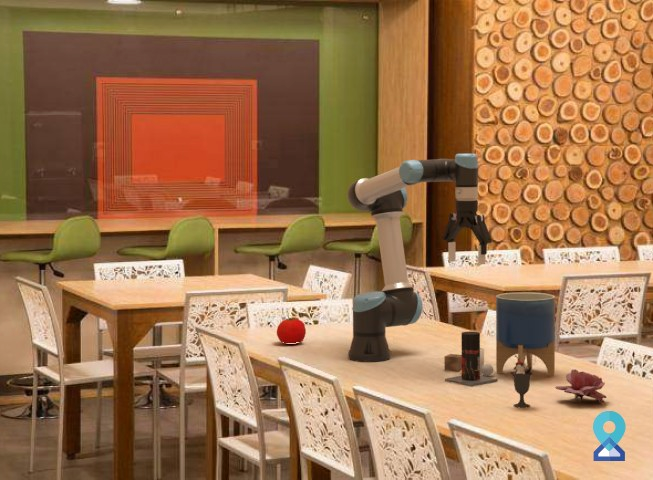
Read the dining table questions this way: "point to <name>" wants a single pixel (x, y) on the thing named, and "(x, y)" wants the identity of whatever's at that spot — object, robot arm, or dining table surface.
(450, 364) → the walnut block
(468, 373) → the deodorant
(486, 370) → the grey ball
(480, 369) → the candle
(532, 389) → the dining table surface
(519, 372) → the sundae
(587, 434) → the dining table surface
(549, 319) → the planter
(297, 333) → the tomato
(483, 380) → the slate coaster
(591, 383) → the flower
